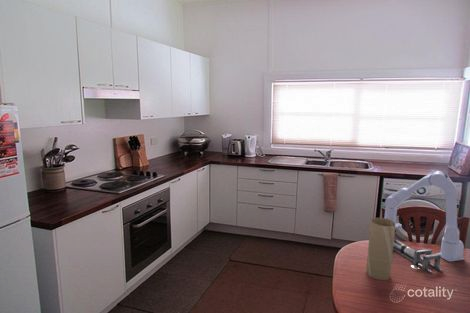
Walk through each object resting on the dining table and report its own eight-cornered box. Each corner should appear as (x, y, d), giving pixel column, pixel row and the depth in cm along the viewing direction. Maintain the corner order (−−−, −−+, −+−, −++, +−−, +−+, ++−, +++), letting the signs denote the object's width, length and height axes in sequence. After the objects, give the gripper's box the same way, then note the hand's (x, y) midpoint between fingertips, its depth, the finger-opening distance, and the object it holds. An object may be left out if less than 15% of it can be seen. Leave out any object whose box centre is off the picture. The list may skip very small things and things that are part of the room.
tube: (362, 273, 145) (367, 222, 140) (370, 265, 152) (375, 216, 148) (385, 282, 138) (391, 228, 134) (393, 273, 146) (398, 221, 141)
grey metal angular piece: (403, 247, 171) (404, 235, 170) (444, 271, 148) (446, 258, 146) (384, 249, 168) (385, 237, 167) (423, 274, 145) (424, 261, 143)
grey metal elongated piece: (390, 246, 172) (391, 239, 171) (396, 245, 173) (397, 238, 172) (414, 261, 156) (415, 253, 156) (420, 260, 158) (421, 252, 157)
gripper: (396, 213, 179) (393, 236, 182) (374, 216, 176) (371, 239, 178) (405, 218, 173) (403, 241, 175) (382, 220, 169) (380, 244, 172)
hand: (387, 240), depth 176 cm, fingers closed
